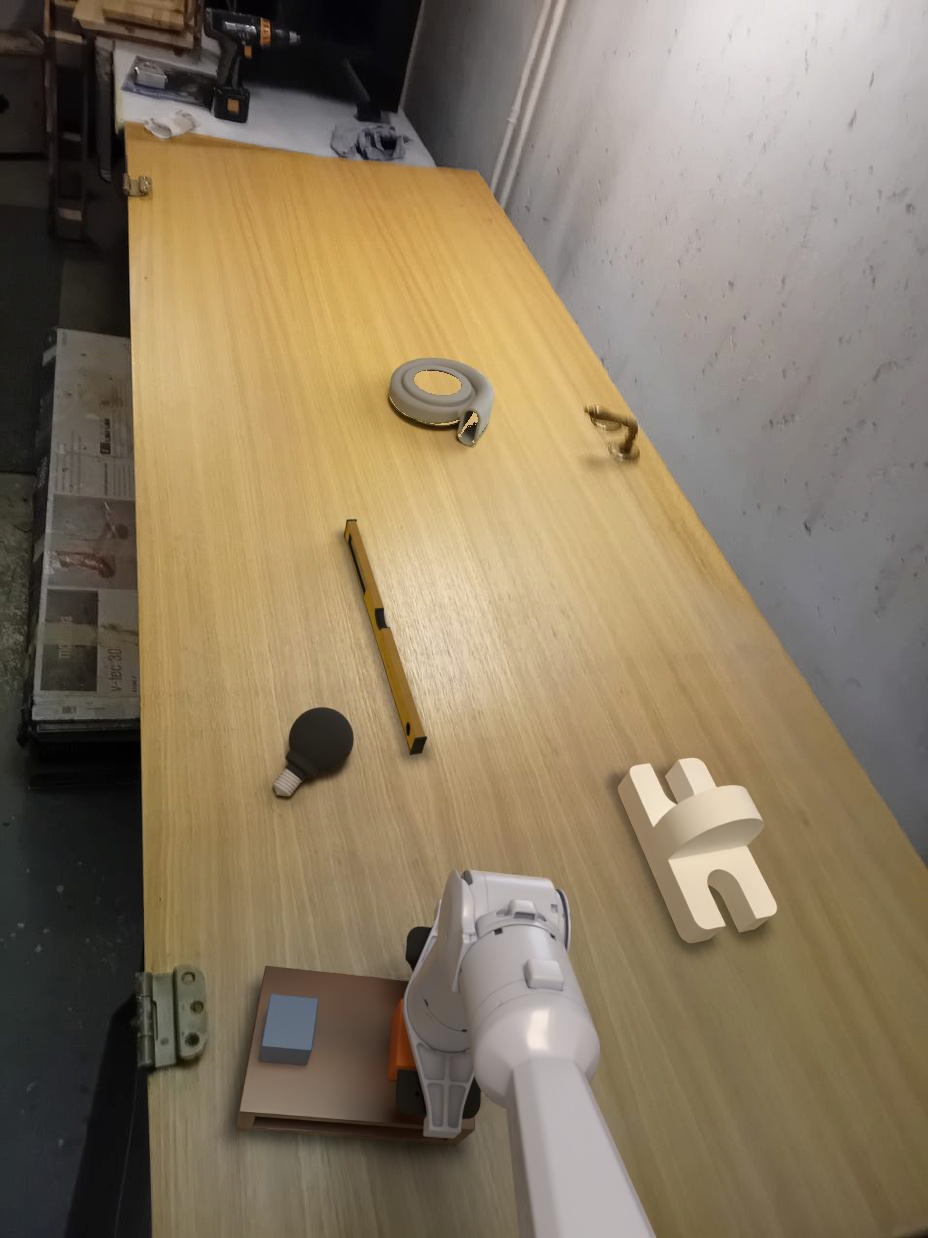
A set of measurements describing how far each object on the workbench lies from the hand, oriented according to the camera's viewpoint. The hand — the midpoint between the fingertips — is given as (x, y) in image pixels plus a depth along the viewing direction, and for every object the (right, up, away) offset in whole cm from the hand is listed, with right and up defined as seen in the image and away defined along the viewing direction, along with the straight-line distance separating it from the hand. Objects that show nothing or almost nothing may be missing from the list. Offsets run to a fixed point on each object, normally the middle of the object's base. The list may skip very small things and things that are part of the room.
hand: (422, 1044), depth 61 cm
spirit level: (-7, +30, +36) cm, 47 cm away
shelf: (-6, -4, +5) cm, 9 cm away
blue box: (-10, +1, 0) cm, 10 cm away
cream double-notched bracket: (+26, +7, +26) cm, 37 cm away
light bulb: (-12, +17, +22) cm, 30 cm away
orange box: (0, -1, +1) cm, 2 cm away
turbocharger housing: (-1, +65, +70) cm, 95 cm away
